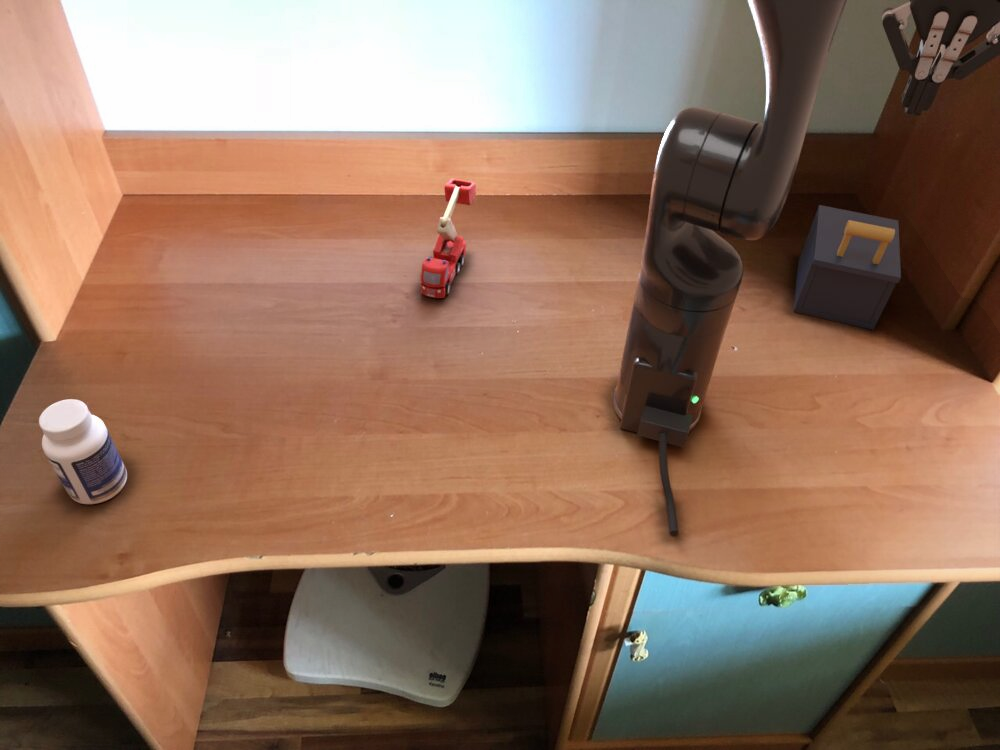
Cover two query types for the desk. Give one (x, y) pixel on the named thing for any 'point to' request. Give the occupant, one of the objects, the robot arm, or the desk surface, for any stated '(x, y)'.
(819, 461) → the desk surface
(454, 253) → the toy fire truck
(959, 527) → the desk surface
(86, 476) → the pill bottle
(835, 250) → the lid
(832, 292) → the chest
